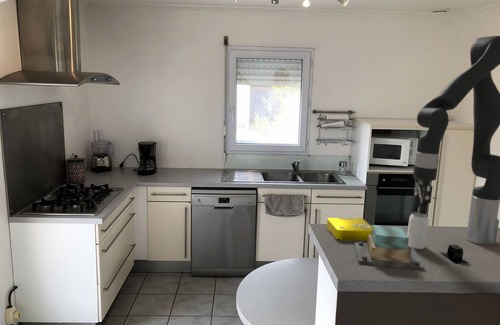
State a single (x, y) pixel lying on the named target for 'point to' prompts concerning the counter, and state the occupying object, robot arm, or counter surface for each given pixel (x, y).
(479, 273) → the counter surface
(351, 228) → the element tile
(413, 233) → the can
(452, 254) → the black slotted housing
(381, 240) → the brick tower
